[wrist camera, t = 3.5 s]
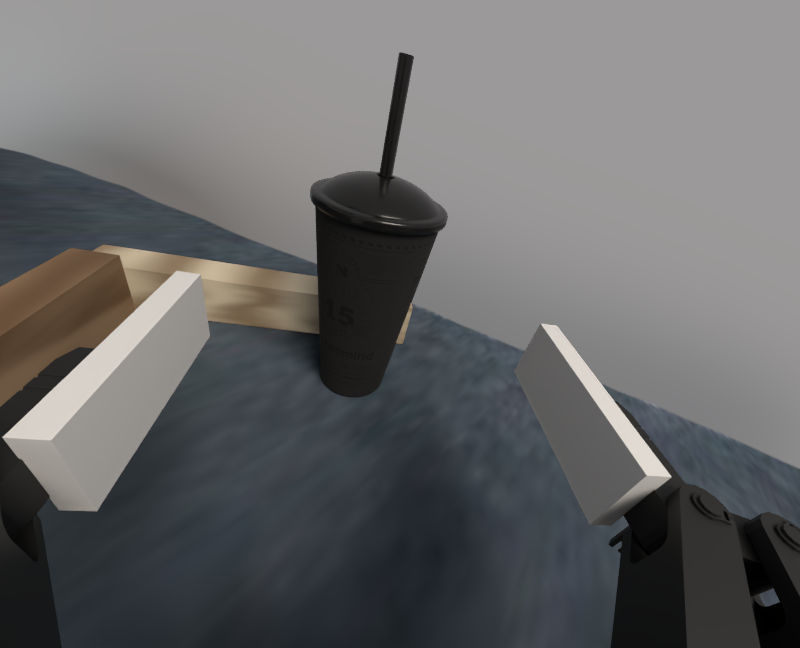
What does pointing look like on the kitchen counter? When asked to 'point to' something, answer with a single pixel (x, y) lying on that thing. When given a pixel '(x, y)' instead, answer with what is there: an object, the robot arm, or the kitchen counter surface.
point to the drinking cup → (370, 259)
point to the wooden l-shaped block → (133, 303)
